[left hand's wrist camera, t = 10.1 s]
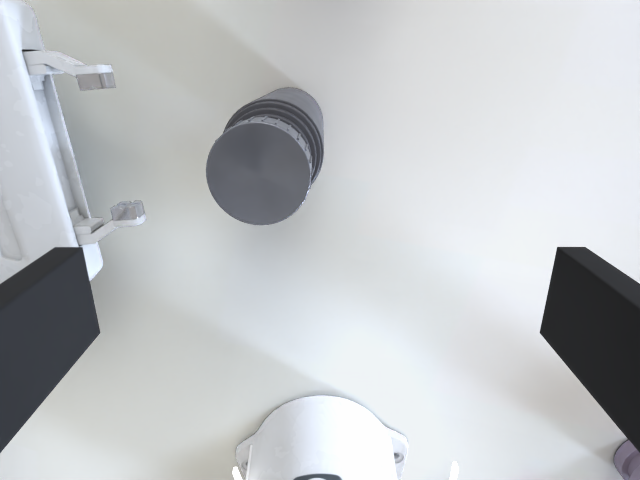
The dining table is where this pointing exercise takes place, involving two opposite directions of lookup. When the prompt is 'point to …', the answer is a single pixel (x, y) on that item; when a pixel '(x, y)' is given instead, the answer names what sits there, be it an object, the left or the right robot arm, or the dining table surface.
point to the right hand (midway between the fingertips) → (126, 148)
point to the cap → (259, 171)
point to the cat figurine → (628, 461)
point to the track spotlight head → (290, 118)
